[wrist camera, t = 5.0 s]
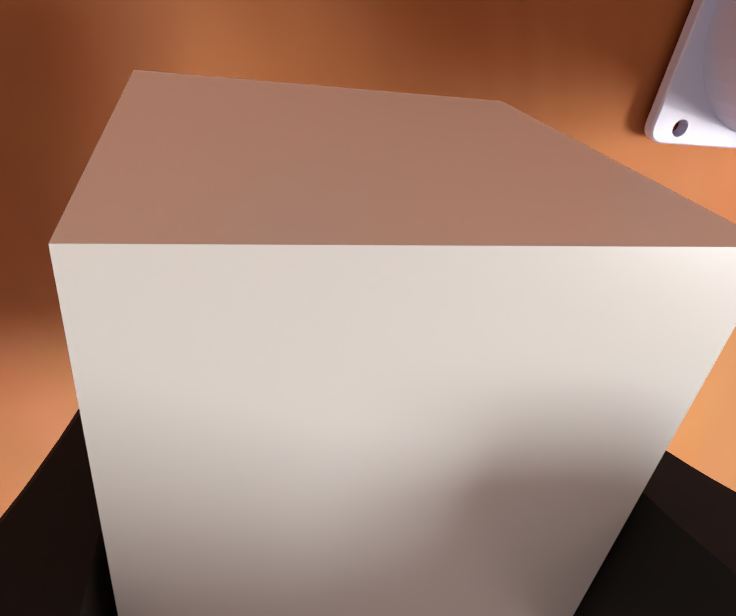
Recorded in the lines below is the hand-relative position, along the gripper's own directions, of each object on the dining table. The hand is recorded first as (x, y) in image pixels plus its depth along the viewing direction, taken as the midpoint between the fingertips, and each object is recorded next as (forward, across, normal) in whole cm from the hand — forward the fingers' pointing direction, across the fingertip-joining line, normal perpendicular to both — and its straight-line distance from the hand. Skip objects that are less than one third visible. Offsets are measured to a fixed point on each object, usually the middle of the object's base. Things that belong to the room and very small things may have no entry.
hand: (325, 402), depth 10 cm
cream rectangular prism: (+2, 0, 0) cm, 2 cm away
